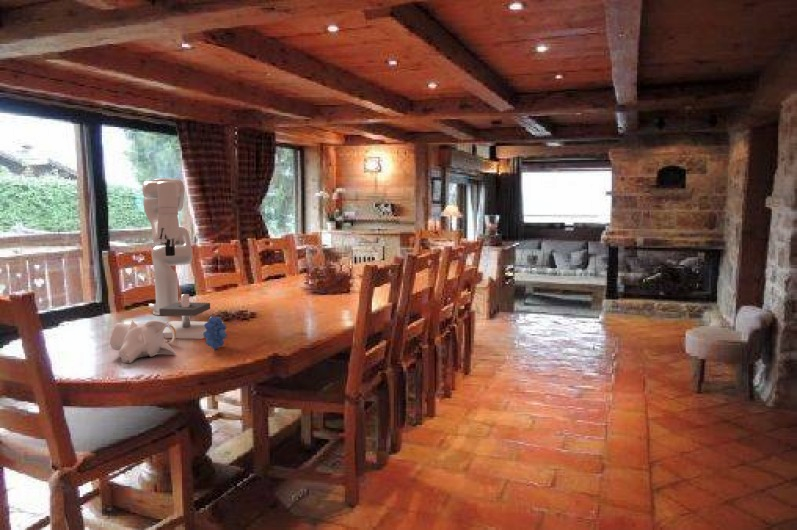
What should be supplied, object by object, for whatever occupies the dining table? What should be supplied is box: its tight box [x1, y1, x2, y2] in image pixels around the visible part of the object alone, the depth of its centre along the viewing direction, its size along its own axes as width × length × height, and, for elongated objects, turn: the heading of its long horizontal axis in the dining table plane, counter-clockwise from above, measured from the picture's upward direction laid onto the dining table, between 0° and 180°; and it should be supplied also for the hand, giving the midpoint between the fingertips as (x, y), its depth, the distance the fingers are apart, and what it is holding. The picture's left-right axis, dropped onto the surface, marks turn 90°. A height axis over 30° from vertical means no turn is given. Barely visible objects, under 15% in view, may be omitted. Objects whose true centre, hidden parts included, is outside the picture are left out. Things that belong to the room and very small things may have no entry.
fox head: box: [109, 319, 177, 364], centre depth 180 cm, size 14×17×20 cm
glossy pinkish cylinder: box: [180, 293, 191, 328], centre depth 216 cm, size 4×4×13 cm
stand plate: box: [163, 320, 224, 340], centre depth 217 cm, size 22×20×2 cm
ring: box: [164, 321, 177, 345], centre depth 198 cm, size 7×3×8 cm, turn 67°
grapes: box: [203, 316, 228, 350], centre depth 191 cm, size 12×7×12 cm, turn 163°
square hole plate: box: [159, 301, 211, 317], centre depth 216 cm, size 14×14×2 cm
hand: (170, 255), depth 228 cm, fingers closed
